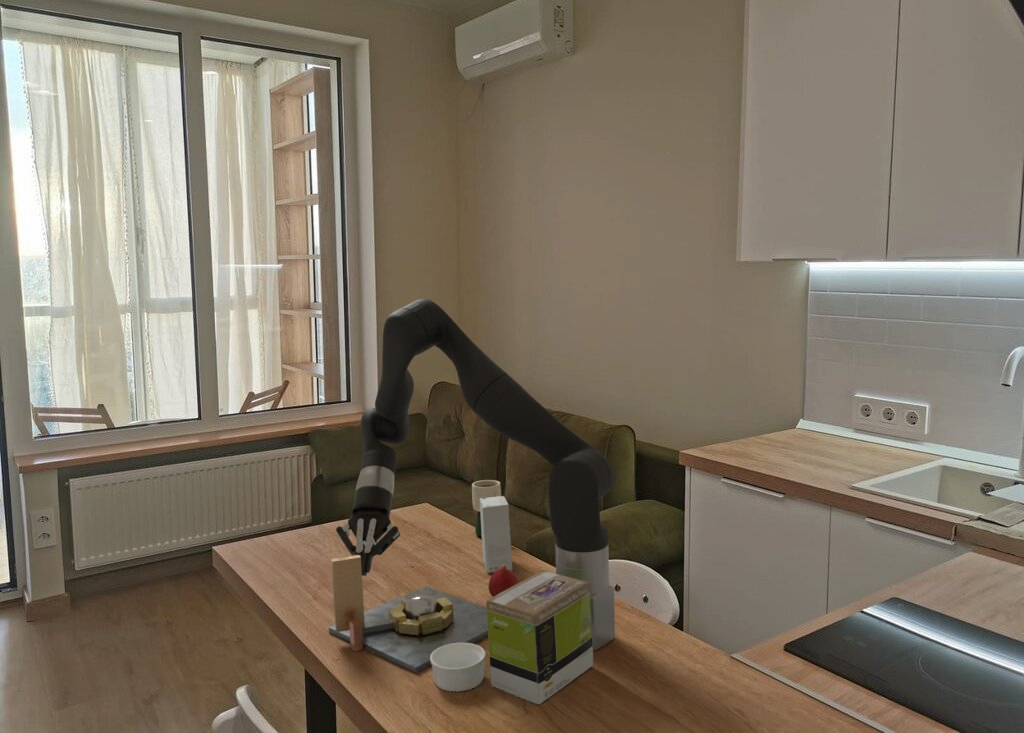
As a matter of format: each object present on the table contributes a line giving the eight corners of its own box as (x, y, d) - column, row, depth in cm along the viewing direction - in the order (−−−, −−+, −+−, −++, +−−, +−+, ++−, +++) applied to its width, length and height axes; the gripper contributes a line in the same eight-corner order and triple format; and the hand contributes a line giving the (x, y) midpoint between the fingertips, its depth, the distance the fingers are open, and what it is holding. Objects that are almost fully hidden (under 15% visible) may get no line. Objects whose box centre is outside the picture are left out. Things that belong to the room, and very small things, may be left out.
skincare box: (512, 571, 174) (510, 505, 172) (485, 574, 173) (482, 507, 172) (507, 558, 182) (505, 494, 181) (481, 560, 182) (478, 496, 180)
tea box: (545, 650, 138) (543, 567, 136) (594, 667, 132) (593, 580, 130) (488, 687, 127) (484, 597, 125) (539, 707, 120) (536, 613, 118)
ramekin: (436, 699, 124) (435, 672, 123) (427, 671, 132) (425, 646, 132) (492, 689, 126) (491, 663, 126) (479, 663, 135) (478, 638, 134)
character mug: (513, 536, 197) (511, 484, 195) (490, 543, 192) (488, 490, 191) (485, 526, 205) (484, 476, 204) (463, 533, 201) (461, 482, 199)
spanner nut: (453, 605, 155) (450, 534, 153) (454, 632, 143) (450, 556, 141) (342, 612, 153) (337, 541, 151) (333, 641, 141) (329, 564, 139)
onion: (483, 607, 156) (482, 567, 155) (498, 596, 161) (496, 557, 160) (510, 612, 154) (508, 572, 153) (523, 600, 159) (522, 561, 158)
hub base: (513, 622, 149) (512, 591, 148) (408, 677, 130) (406, 642, 130) (426, 590, 165) (425, 562, 164) (321, 635, 146) (319, 604, 146)
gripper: (409, 502, 166) (399, 582, 155) (347, 502, 167) (332, 582, 156) (402, 484, 160) (391, 565, 149) (338, 484, 161) (322, 565, 151)
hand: (361, 574), depth 153 cm, fingers closed
